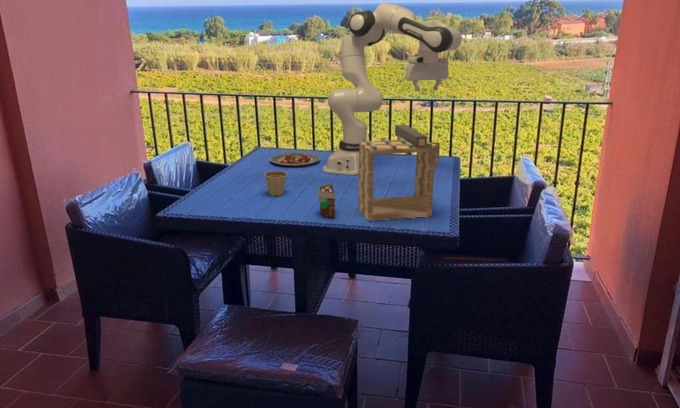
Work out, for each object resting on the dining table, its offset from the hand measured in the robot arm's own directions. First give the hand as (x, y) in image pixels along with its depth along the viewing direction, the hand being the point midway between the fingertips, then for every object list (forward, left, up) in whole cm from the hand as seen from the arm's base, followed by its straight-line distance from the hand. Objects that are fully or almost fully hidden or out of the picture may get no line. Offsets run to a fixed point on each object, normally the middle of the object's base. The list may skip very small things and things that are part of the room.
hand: (426, 90), depth 229 cm
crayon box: (+5, +21, -39) cm, 45 cm away
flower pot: (-60, -37, -39) cm, 81 cm away
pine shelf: (-11, -53, -39) cm, 67 cm away
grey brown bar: (-6, -47, -13) cm, 49 cm away
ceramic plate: (-64, +17, -40) cm, 77 cm away
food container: (-36, -58, -39) cm, 79 cm away
